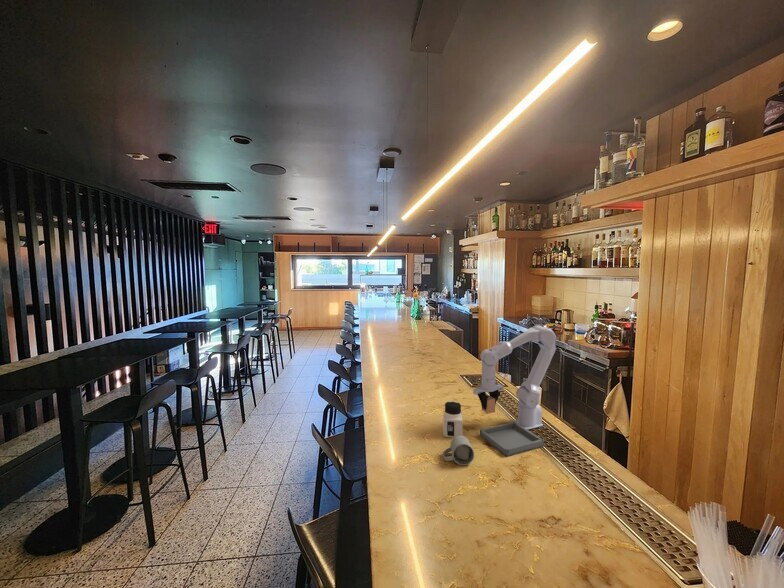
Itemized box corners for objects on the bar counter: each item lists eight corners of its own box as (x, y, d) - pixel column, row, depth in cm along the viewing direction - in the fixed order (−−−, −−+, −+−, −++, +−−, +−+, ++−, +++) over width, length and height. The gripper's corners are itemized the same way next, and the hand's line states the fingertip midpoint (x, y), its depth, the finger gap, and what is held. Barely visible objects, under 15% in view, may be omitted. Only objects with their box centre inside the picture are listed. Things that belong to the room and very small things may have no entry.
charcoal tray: (514, 427, 135) (514, 421, 135) (544, 446, 120) (544, 440, 120) (479, 435, 129) (479, 429, 128) (506, 456, 114) (506, 450, 113)
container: (462, 438, 126) (462, 407, 126) (443, 436, 128) (443, 406, 127) (462, 429, 134) (462, 399, 133) (443, 427, 136) (443, 398, 135)
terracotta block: (489, 408, 139) (489, 395, 139) (495, 412, 136) (495, 398, 135) (481, 409, 138) (481, 396, 138) (487, 413, 134) (487, 400, 134)
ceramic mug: (469, 452, 117) (468, 432, 116) (474, 465, 109) (474, 444, 108) (441, 452, 117) (440, 433, 117) (444, 466, 109) (443, 445, 108)
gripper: (496, 372, 142) (495, 401, 143) (469, 376, 137) (469, 406, 138) (506, 377, 136) (506, 407, 136) (478, 382, 130) (478, 413, 131)
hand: (488, 407), depth 137 cm, fingers closed on terracotta block, 4 cm apart
